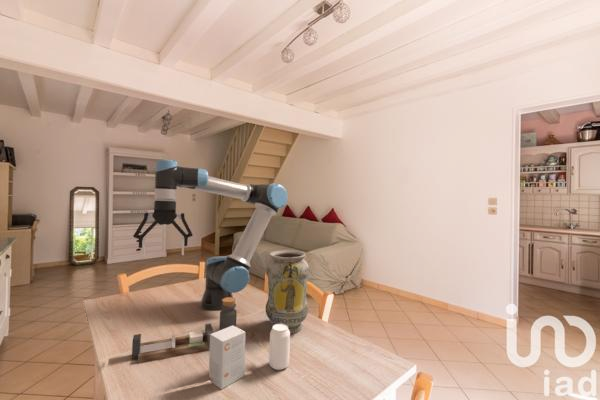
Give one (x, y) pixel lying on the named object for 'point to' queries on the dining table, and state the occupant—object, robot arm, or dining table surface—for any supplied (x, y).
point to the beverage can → (279, 346)
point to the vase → (287, 289)
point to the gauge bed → (178, 347)
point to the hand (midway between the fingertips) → (163, 255)
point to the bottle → (228, 313)
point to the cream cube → (195, 337)
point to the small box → (227, 356)
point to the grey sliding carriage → (149, 346)
